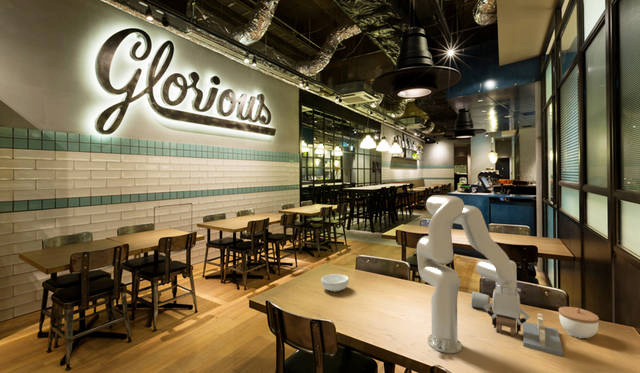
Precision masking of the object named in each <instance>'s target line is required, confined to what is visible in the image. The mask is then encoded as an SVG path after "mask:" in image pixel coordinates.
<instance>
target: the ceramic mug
mask: <svg viewBox="0 0 640 373" xmlns="http://www.w3.org/2000/svg"><path fill="white" fill-rule="evenodd" d="M490 303H491V296H490V295H489V294H485V293H482V292H476V291H472V293H471V308H476V309H482V310H485V309H484V306H485V305H488V304H490Z"/></svg>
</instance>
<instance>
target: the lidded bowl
mask: <svg viewBox="0 0 640 373" xmlns="http://www.w3.org/2000/svg"><path fill="white" fill-rule="evenodd" d="M558 318H559V319H558V320H559V322H560V325H561V326H562V328H563V329H564V330H565V331H566V333H567V335H569V336H572V337H574V338H577V337H578V339H581V338H589V337H590V338H592V337H593V336H595V335H596V333H597V332H598V330H599V321H600V317H599V316H598V315H597V314H595V313H594V312H592V311H589V310H586V309H583V308H580V307H573V306H562V307H561V306H560V307H559V308H558ZM590 338H589V339H590Z"/></svg>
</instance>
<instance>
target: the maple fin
mask: <svg viewBox="0 0 640 373" xmlns="http://www.w3.org/2000/svg"><path fill="white" fill-rule="evenodd" d="M536 315H537V321H536V322H537V325H538V334H539V342H540V346H544V347H545V329H544V319H543V318H544V316H543V314H542V313H537V314H536Z"/></svg>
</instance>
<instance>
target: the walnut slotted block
mask: <svg viewBox="0 0 640 373" xmlns="http://www.w3.org/2000/svg"><path fill="white" fill-rule="evenodd" d="M503 327H504V328H505V327H506V328H509V329H510V330H509V331H510V334H509V335H510V337H514V338H517V321H516V319H515V318H512V317H507V316H503V315H498V314H497V316H496V328H495V333H498V334H502V332H503Z"/></svg>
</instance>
